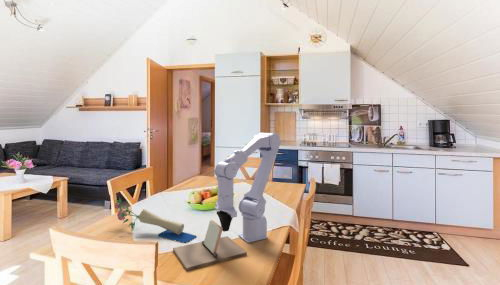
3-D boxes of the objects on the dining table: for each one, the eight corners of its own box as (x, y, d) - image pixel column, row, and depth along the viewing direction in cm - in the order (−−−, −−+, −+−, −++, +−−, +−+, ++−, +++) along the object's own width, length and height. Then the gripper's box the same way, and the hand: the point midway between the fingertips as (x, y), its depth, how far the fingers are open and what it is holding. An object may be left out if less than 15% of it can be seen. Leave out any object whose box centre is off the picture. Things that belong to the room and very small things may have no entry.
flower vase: (172, 255, 118) (102, 227, 126) (187, 235, 128) (122, 211, 137) (173, 233, 113) (100, 206, 121) (188, 214, 123) (120, 191, 132)
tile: (212, 220, 109) (210, 220, 108) (222, 228, 101) (219, 228, 100) (206, 243, 108) (203, 243, 107) (215, 253, 100) (212, 253, 100)
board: (227, 238, 116) (227, 233, 116) (246, 254, 102) (246, 248, 102) (173, 250, 105) (172, 244, 105) (186, 270, 92) (186, 264, 91)
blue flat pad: (185, 242, 111) (157, 234, 118) (185, 245, 112) (157, 236, 118) (197, 235, 118) (169, 228, 125) (197, 238, 118) (169, 230, 125)
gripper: (207, 191, 110) (208, 226, 111) (224, 201, 97) (223, 239, 98) (224, 189, 113) (224, 222, 114) (242, 198, 101) (242, 235, 102)
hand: (225, 230), depth 106 cm, fingers closed
